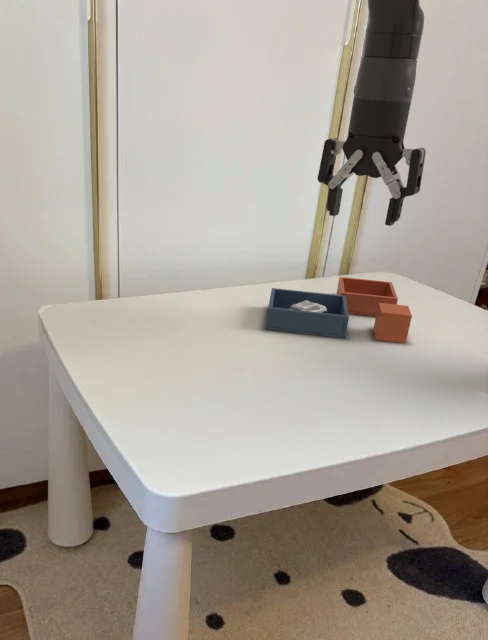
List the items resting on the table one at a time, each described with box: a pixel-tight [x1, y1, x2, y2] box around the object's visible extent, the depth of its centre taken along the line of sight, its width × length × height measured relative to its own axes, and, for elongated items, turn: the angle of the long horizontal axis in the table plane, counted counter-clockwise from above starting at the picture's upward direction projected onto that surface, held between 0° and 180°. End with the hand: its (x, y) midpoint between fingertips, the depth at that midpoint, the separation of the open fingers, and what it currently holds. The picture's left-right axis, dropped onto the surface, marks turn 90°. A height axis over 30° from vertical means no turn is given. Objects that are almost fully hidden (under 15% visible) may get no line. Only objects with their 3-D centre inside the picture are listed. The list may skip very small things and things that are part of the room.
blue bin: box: [265, 287, 350, 339], centre depth 101 cm, size 12×10×4 cm
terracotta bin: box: [335, 276, 399, 318], centre depth 109 cm, size 9×9×4 cm
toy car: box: [290, 300, 327, 313], centre depth 101 cm, size 4×8×3 cm, turn 133°
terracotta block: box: [372, 303, 413, 344], centre depth 98 cm, size 4×4×4 cm
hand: (360, 219), depth 92 cm, fingers open, 8 cm apart
